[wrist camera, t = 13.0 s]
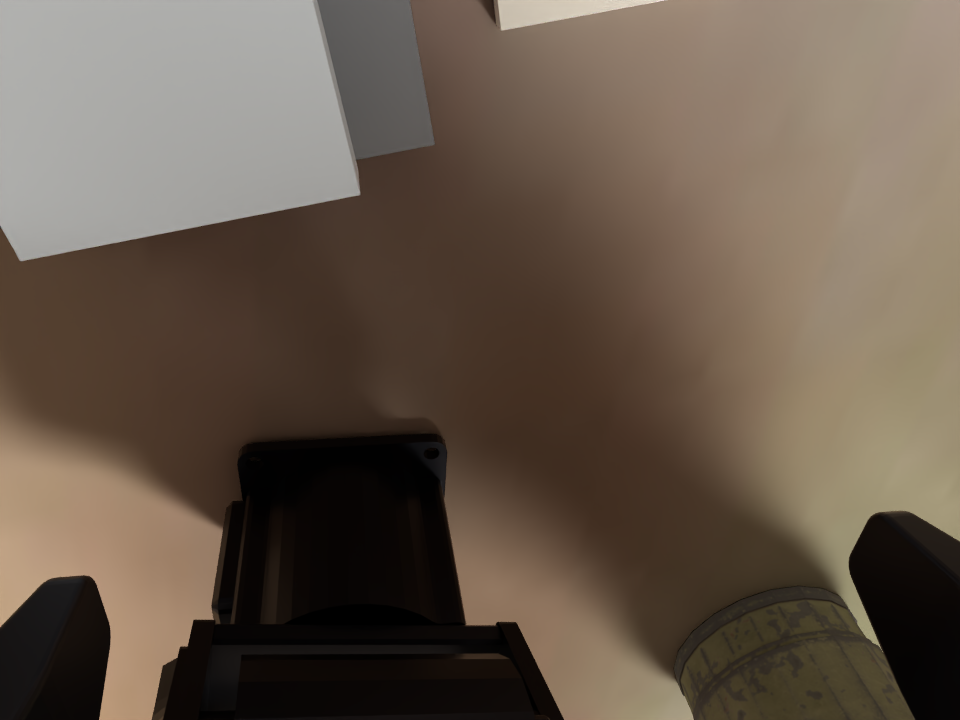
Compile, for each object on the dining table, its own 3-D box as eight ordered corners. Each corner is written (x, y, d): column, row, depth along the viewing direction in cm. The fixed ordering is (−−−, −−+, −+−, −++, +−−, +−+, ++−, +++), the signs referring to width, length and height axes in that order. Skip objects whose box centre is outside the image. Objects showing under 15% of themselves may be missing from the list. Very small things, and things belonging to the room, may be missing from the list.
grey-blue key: (358, 169, 16) (360, 195, 14) (43, 229, 15) (20, 261, 14) (262, -224, 12) (256, -230, 11) (-160, -155, 11) (-215, -154, 10)
